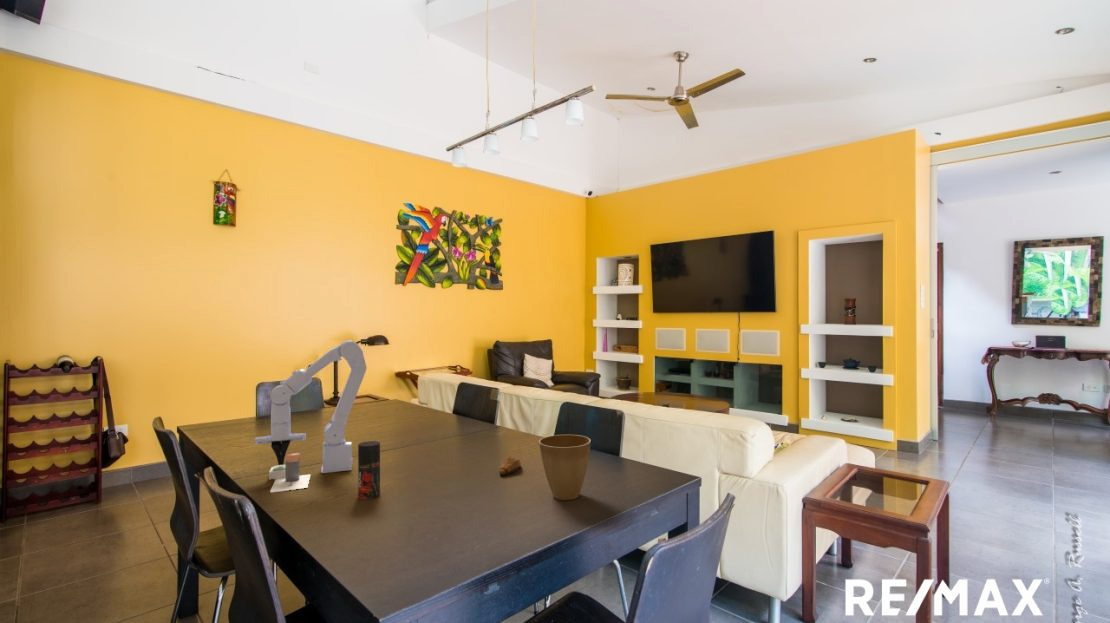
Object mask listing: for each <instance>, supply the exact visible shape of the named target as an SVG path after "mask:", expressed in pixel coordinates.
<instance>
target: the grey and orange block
mask: <svg viewBox="0 0 1110 623" xmlns="http://www.w3.org/2000/svg"><path fill="white" fill-rule="evenodd" d="M300 455H301V453H299V452H290V453H286V454H285V458H284V465H285V481H286V482H293V481H297V480H299V479H300V472H301V471H300V468H301V467H300V464H301V463H300V462H301V461H300V460H301V457H300Z"/></svg>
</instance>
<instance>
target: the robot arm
mask: <svg viewBox="0 0 1110 623" xmlns="http://www.w3.org/2000/svg"><path fill="white" fill-rule="evenodd" d="M342 359H344V360H345V361H346V362H347V364H348V366H349V368H350V372H349V375H348V378H347V380H346V382H345V384H344V387H343V390H342V392H341V394H340V398H339V399H338V402H337V404H336V407H335V410H334V412H333V414H332V416H331V418H330V421H329V422H327V424H326V425H325V426H324V428H323V434H324V441H323V442H322V466H321V469H320V470H321V471H320V473H321V474H329V473H336V472H345V471H352V470H353V469H352V468H353V466H352V465H353V463H354V458H353V457H352V456H353V455H352V454H353V447H352V446H353V445H352V444H353V442H352V441H346V439H345V436H346V431H345V430H346V427H347V423H348V418H349V415H350V413H351V410H352V407H353V405H354V403H355V400H356V397H357V395H358V392H359V389H360V387H361V385H362V382H363V379H364V377H365V374H366V371H367V363H366V359H365V356H364V351H363V350H362V348H361V346H360V345H359V344H358V343H357V342H355V341H354V340H349V339H348V340H344V341H343V342H341V343H340V344H338V345H336V346H334V347H333V348H331V349H330V350H328V351H327V352H325V353H324V354H323V355H322V356H320V357H319V358H318V359H317V360H315V361H314V362H313V363H312V364H310V365H309V366H308V367H306V369H303V368H300V369H298V370H294V371H292V373H291V375H290V376H289V377H287V378H286V379H284V380H281V381H280V382H279V385H276V386H275V387H274V388H273V389H272V390H271V393H270V395H269V396H270V401H271V405H270V406H271V407H270V408H271V409H270V435H267V436H266V435H265V436H260V437H258V436H257V437H255V438H254V443H255V444H254V445H255V446H257V445H261V444H263V445H265V444H270V447H271V449H272V451H273V452H274V454H275V457H276V459H277V465H285V455H286V454H287V451H288V449H289V447H290V444H291V442H295V441H306V439H307V433H306V432H305V433H292V432H291V430H292V426H291V425H292V424H291V422H292V421H291V419H292V418H291V416H292V415H291V412H292V410H291V408H292V407H291V406H290V405H291V404H290V403H291V402H290V401H291V398H292V396H294V395H297V394H298V393H299V392H300V391H302V390H303V389H304V388H306V387H307V386H308V385H310V384H312V381H313V376H315V375H316V374H318V373H319V372H320V371H322V370H323V369H325V368H326V367H327V366H328V365H330V364H332V363H333V362H339V361H342Z"/></svg>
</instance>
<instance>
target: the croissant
mask: <svg viewBox="0 0 1110 623" xmlns="http://www.w3.org/2000/svg"><path fill="white" fill-rule="evenodd" d="M520 466H521V461H520V459H518V458H516V457H514V456H513V457H512V456H511V455H510V456H508V457H505V458H504V459H503V460H502V461H501V464H500V466H499V468H498V472H499V475H500V476H501V477H502V476H508V475H510V474H512V473H515V472H516V471H518V470H519V468H520Z"/></svg>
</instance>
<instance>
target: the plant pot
mask: <svg viewBox="0 0 1110 623" xmlns="http://www.w3.org/2000/svg"><path fill="white" fill-rule="evenodd" d="M591 441H592V440H591V438H589V437H588V436H585V435H580V434H555V435H549V436H545V437H542V438H541V439H539V441H538V444H539V451H540V456H541V461H542V465H543V469H544V473H545V477H546V480H547V483H548V486H549V488H550V491H551V494H552V496H553V498H554V499H556V500H561V501H572V500H575V499H578V497H579V496H580V494H581V491H582V488H583V484H584V481H585V478H586V473H587V469H588V463H589V459H590V450H591Z"/></svg>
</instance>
